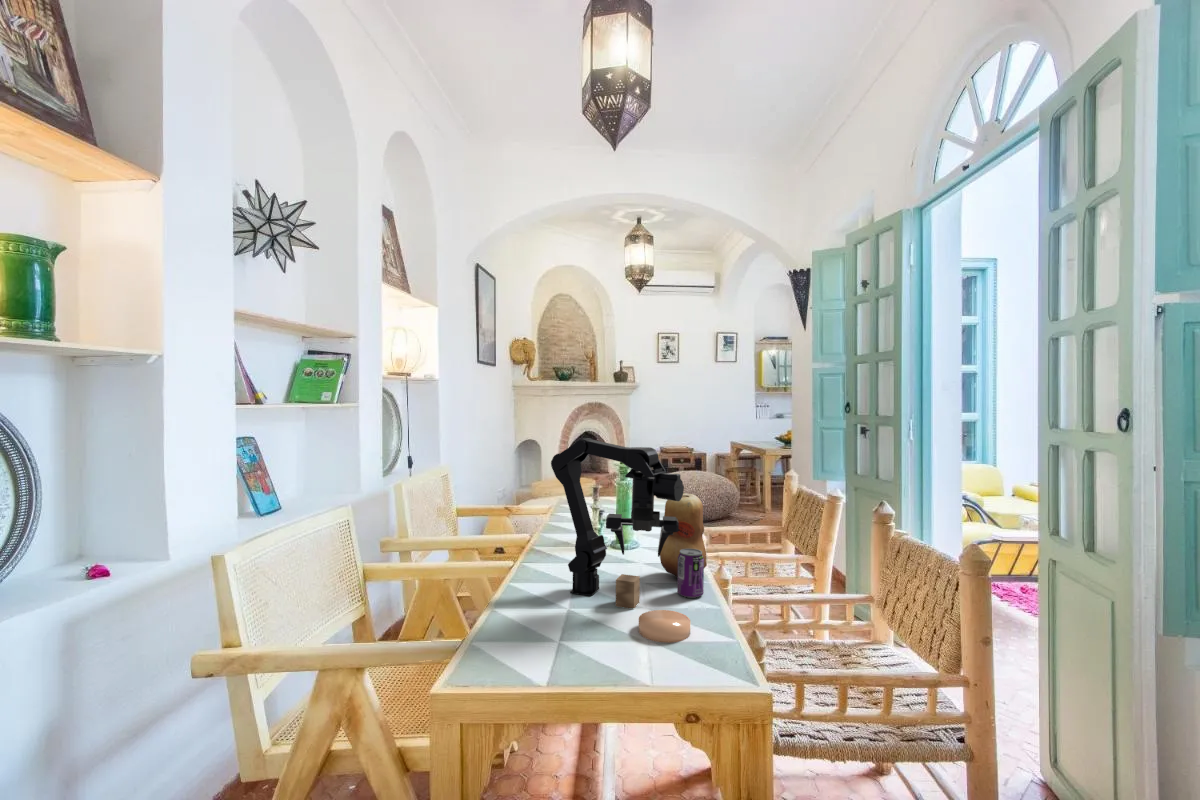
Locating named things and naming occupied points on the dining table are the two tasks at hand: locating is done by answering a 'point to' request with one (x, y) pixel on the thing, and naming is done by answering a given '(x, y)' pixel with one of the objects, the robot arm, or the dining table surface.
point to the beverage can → (690, 573)
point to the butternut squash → (683, 531)
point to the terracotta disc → (664, 626)
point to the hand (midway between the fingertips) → (640, 555)
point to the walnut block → (627, 591)
